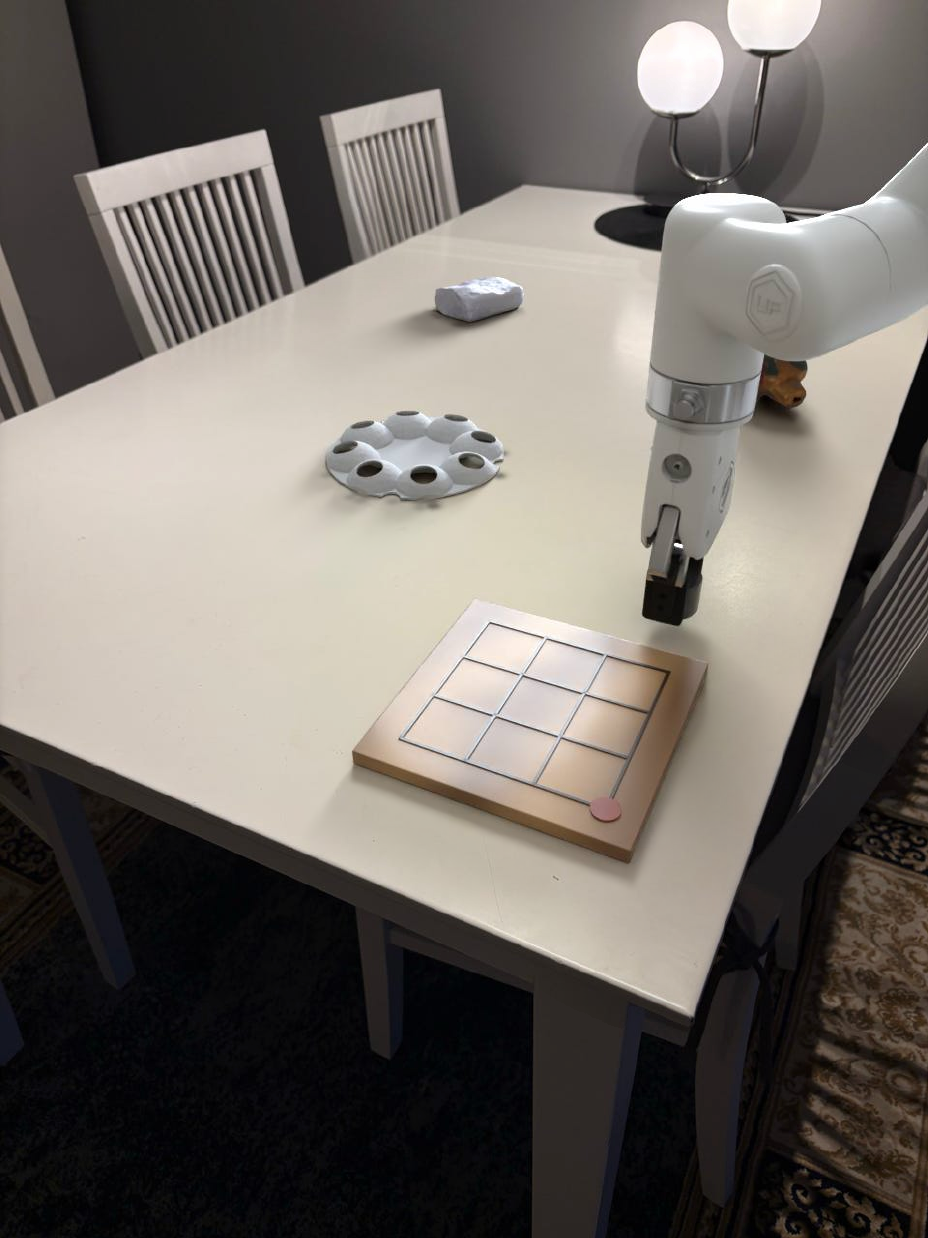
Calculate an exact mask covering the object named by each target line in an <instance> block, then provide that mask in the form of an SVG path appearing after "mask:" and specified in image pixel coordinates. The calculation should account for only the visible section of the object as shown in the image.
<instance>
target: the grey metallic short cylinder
mask: <svg viewBox="0 0 928 1238" xmlns="http://www.w3.org/2000/svg"><path fill="white" fill-rule="evenodd" d="M671 563H672V564H676V566H677V569H678V565H679V561H676V560H671ZM647 572H648V569H647V570H646V576H647ZM646 576H645V577H646ZM703 580H704V579H703V573H702V572H700V571H699V569H697V568H696V567H695V566H693V565H691V564H689V563H688V568H687V573H686V578H685V581H687V582H689V584H688V591H687V597H686V604H685V610H684V616H683V621H684V620H688V619H689V618H692V617H693V616H695V614H696V613H697V612H698V610H699V603H700V597H701V591H702V585H703ZM645 584H646V582H644V585H645ZM644 592H645V590H644ZM644 592H643V593H644ZM643 600H644V598H643V599H642V601H643Z"/></svg>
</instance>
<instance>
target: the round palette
mask: <svg viewBox="0 0 928 1238" xmlns="http://www.w3.org/2000/svg"><path fill="white" fill-rule="evenodd" d="M479 440H482V441H479ZM484 441H489V442H484ZM353 447H355V448H353ZM350 448H353V449H352V450H350V451H347V450H348V449H350ZM343 451H346V452H343ZM340 452H342V453H340ZM504 452H505V451H504V445H503V443H502V442H501V440H500V439H499V438H497V437H496V436H494V435H493V434H492V433H489V432H488V431H486V430H484V429H482V428H480V427H478V426H476V425H475V423H474V422H473V421H471V420H470V419H469V418H467V417H465V416H463V415H460V414H453V413H452V414H451V413H448V414H443V415H439V416H438V417H434V416H426V415H425V414H423V413H422V412H419V411H416V410H400V411H396V412H393V413H392V414H391V415H389V416H388V417H387V418H386V419H383V420H380V422H378V421H374V420H364V421H363V420H362V421H358V422H356V423H353V424H351V425H349V427H347V428H346V429H345V430H344V431H343V433H342V435H341V436H340V437H339V438H337V440H335V441H334V443H332V444H331V446H330V448H329V449H328V452H327V454H326V456H325V463H326V467H327V470H328V471H329V473H330V474H331V476H332V477H333V478H334V479H336V480H337V481H338V482H339V483H340V484H342V485H344V486H346V487H347V488H349V489H350V490H352V491H356V492H358V493H361V494H364V495H367V496H372V497H378V498H383V497H385V496H386V495H397V496H398V497H399V499H400V500H405V501H407V500H408V501H409V500H410V501H422V500H434V499H435V500H436V499H441V498H445V497H451V496H454V495H457V494H461V493H465V492H468V491H470V490H473V489H475V488H478V487H481V486H482V485H484V484H486V483H487V482H488V481H490V480H491V479H494V478H495V476H496V475H497V474H498V472H499V471H500V469H501V466H498V465H495V463H496V462H501V461H502V462H503V461H504V456H505V453H504ZM467 457H470V458H471V457H473V458H476V459H479V460H481V461H482V462H483V464H484V465H483V466H482V467H480V468H470V467H467V466H465V465H463V464H462V463H461V461H460V460H461V459H463V458H467ZM365 466H373V467H375V468H378V469H380V468H381V470H380V471H379V472H378V473H376V474H374V475H372V476H367V477H366V476H360V475H359V474H358V473H357V472H358V470H359V469H360V468H361V467H365ZM421 473H423V474H425V473H429V474H436V478H435V479H434V480H433V481H431V482H427V483H420V482H416V481H414V480H413V479H412V478H411V475H414V474H421Z"/></svg>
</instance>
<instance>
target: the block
mask: <svg viewBox="0 0 928 1238" xmlns="http://www.w3.org/2000/svg"><path fill="white" fill-rule="evenodd" d="M523 289H524V288H523V287H522V286H521V285H518V284H517V283H514V282H512V281H510V280H509V279H507V278H506V279H505V278H503V277H500V276H496V277H495V276H493V277H490V276H489V277H478V278H474V279H470V280H467V281H463V282H461V283H460V284H457V285H449V286H446V287H439V288H436V289H435V293H434V305H435V309H436V310H437V311H438V312H440V313H441V314H442V315H443V316H447V317H451V318H455V319H457V320H460V321H463V322H467V323H473V322H476V321H480V320H482V319H485V318H490V317H492V316H495V315H499V314H502V313H504V312H509V311H513V310H516V309H517V308H519V307H520V306H521V305H522V303H523V301H524V299H525V294H524V290H523Z"/></svg>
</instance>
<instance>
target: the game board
mask: <svg viewBox="0 0 928 1238" xmlns="http://www.w3.org/2000/svg"><path fill="white" fill-rule="evenodd" d="M709 665H710V663H709V662H706V661H702V660H699V659H695V658H691V657H688V656H684V655H680V654H677V653H674V652H670V651H667V650H663V649H660V648H655V647H652V646H647V645H645V644H641V643H637V642H633V641H630V640H627V639H623V638H620V637H616V636H612V635H609V634H605V633H602V632H598V631H594V630H590V629H587V628H583V627H580V626H576V625H572V624H570V623H565V622H561V621H557V620H554V619H551V618H547V617H544V616H540V615H536V614H532V613H529V612H525V611H522V610H518V609H516V608H515V609H514V608H511V607H507V606H503V605H500V604H497V603H493V602H489V601H485V600H482V599H479V598H473V600H472V601H471V602H470V603H469V605H468V606H467V607H466V608H465V609H464V611H463V612H462V613H461V614H460V616H459V617H458V618H457V619H456V621H455V622H454V624H453V625H452V626H450V628H449V629H448V631H447V632H446V633H445V635H444V636H443V637H442V638H441V639H440V641H439V642H438V643H437V644H436V646H435V647H434V648H433V649H432V651H431V652H430V653H429V655H428V656H427V657H426V658H425V659H424V660H423V662H422V663H421V664H420V666H419V667H418V668H417V669H416V671H415V672H414V673H413V674H412V675H411V677H410V678H409V679H408V681H407V682H406V683H405V684H404V685H403V687H402V688H401V689H400V691H399V692H398V693H397V694H396V695H395V697H394V698H393V699H392V701H391V702H390V703H389V704H388V706H386V708H385V709H384V711H382V712H381V714H380V716H378V718H377V719H376V720H375V722H373V724H372V725H371V726H370V728H369V729H368V730H367V732H366V733H365V734H364V735H363V737H362V738H361V739H360V740H359V742H358V743H357V744H356V745H355V746H354V748H353V749H352V750H351V755H352V756H351V757H352V763H353V764H356V765H359V766H361V767H364V768H366V769H369V770H372V771H374V772H377V773H380V774H383V775H386V776H388V777H391V778H394V779H397V780H399V781H402V782H405V783H408V784H410V785H413V786H416V787H419V788H421V789H424V790H427V791H430V792H432V793H435V794H437V795H440V796H442V797H446V798H449V799H451V800H454V801H457V802H460V803H463V804H465V805H468V806H470V807H473V808H476V809H479V810H482V811H484V812H488V813H490V814H493V815H494V816H495V815H496V816H499V817H501V818H503V819H506V820H509V821H512V822H514V823H516V824H520V825H523V826H526V827H528V828H531V829H534V830H537V831H539V832H541V833H544V834H547V835H549V836H553V837H556V838H558V839H561V840H564V841H567V842H569V843H572V844H575V845H577V846H580V847H583V848H585V849H588V850H591V851H594V852H596V853H599V854H602V855H605V856H608V857H611V858H614V859H617V860H618V861H622V862H624V863H626V864H629V863H630V862H631V861H632V857H633V855H634V852H635V851H636V848H637V846H638V844H639V840H640V839H641V836H642V833H643V831H644V828H645V826H646V825H647V822H648V819H649V816H650V814H651V812H652V810H653V807H654V804H655V801H656V799H657V797H658V794H659V792H660V790H661V787H662V785H663V783H664V780H665V777H666V775H667V773H668V770H669V768H670V765H671V764H672V763H671V762H672V760H673V758H674V755H675V753H676V750H677V749H678V746H679V743H680V741H681V739H682V736H683V734H684V731H685V729H686V726H687V724H688V721H689V720H690V719H689V718H690V716H691V714H692V711H693V709H694V706H695V704H696V702H697V699H698V697H699V695H700V692H701V689H702V687H703V685H704V682H705V680H706V677H707V675H708V671H709Z"/></svg>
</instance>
